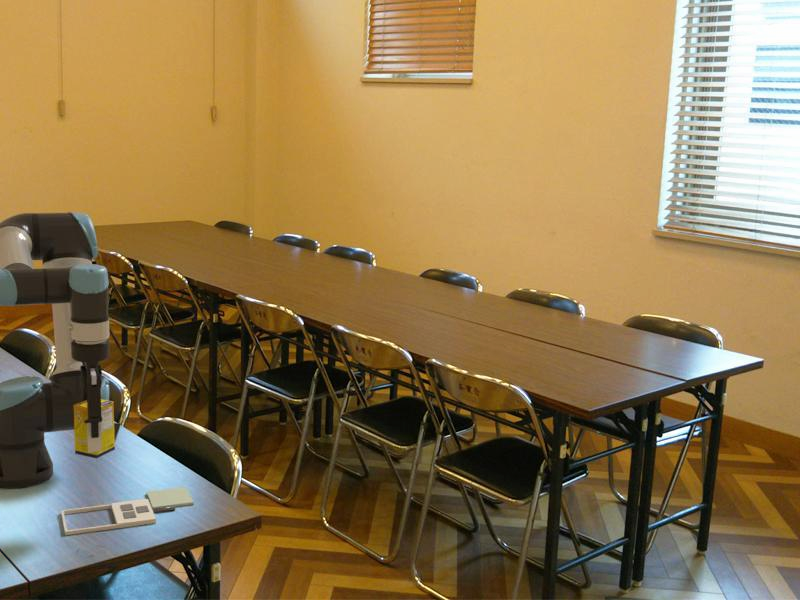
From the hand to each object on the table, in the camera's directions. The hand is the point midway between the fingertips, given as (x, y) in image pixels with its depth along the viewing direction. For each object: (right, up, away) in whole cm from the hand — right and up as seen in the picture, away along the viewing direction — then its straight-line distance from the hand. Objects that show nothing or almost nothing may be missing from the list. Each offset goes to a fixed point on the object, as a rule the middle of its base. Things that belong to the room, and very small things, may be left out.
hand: (92, 443), depth 201 cm
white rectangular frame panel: (+4, -17, +5) cm, 18 cm away
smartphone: (-15, -6, +55) cm, 57 cm away
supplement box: (0, -2, +1) cm, 2 cm away
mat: (+13, -15, +15) cm, 25 cm away
